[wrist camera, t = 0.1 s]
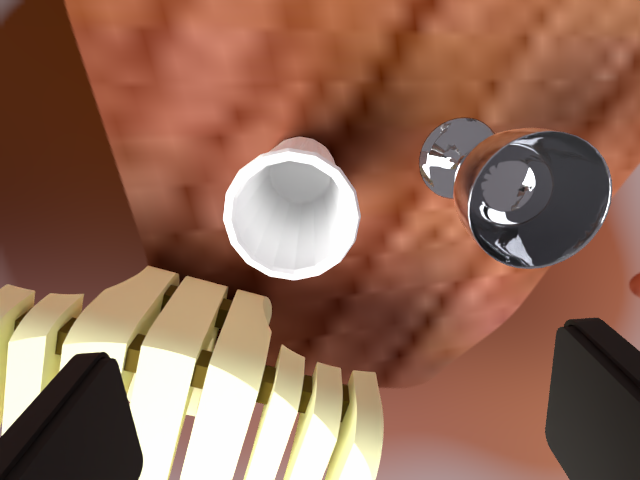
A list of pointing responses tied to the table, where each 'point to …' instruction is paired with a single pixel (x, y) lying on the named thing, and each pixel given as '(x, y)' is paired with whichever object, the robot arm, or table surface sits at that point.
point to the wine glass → (519, 189)
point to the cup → (292, 211)
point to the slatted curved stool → (196, 378)
